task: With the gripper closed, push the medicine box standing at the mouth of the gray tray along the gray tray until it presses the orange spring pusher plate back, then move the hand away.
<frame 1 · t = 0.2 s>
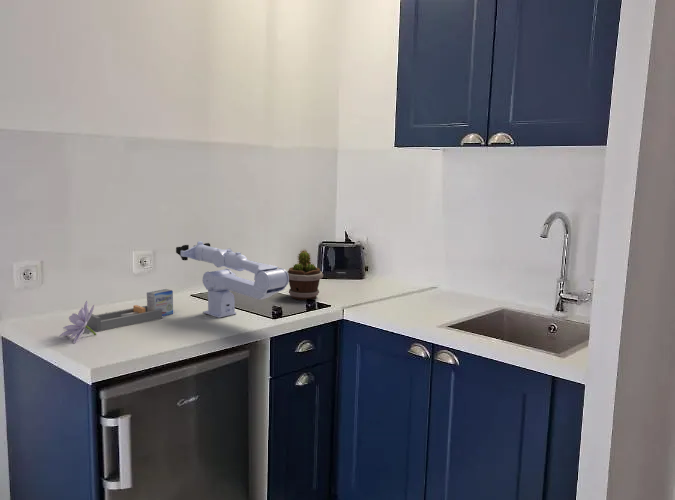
hand: (185, 249, 223), 21 cm above the worktop, tool horizontal, fingers open, 7 cm apart
pusher: (131, 314, 201), point 2 cm above the worktop, slide at 0.0 cm
medicine box: (160, 315, 210), on the worktop
gray tray: (128, 321, 201), on the worktop
flowerpot: (304, 297, 241), on the worktop
water lily: (78, 338, 182), on the worktop
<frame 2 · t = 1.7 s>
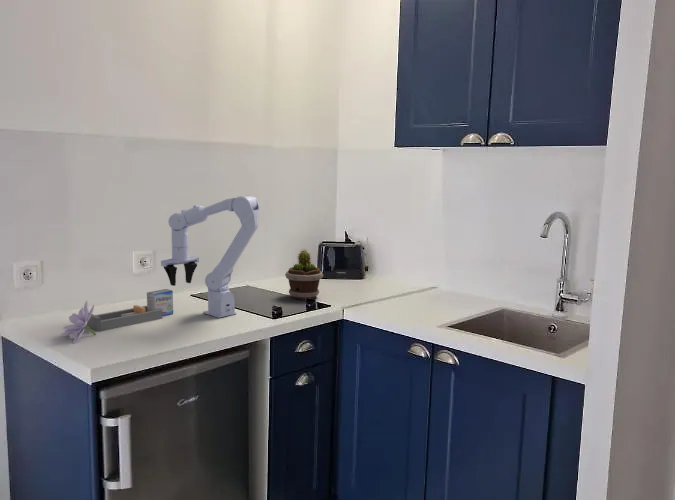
hand: (180, 284, 215), 10 cm above the worktop, tool pointing down, fingers open, 6 cm apart
nothing on the worktop moved.
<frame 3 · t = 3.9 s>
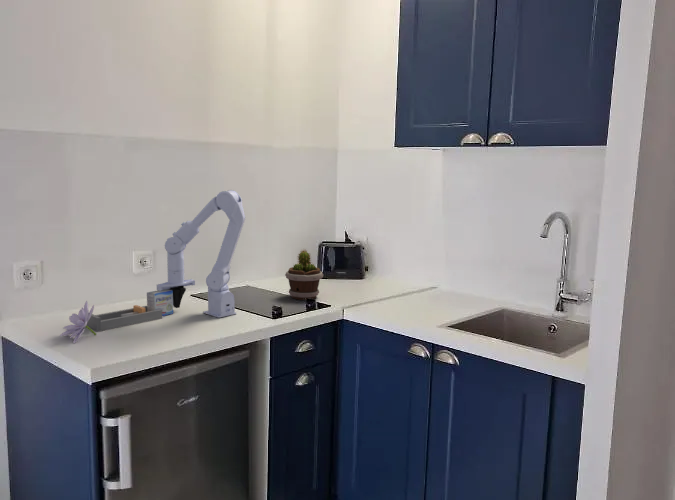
hand: (176, 307, 214), 2 cm above the worktop, tool pointing down, fingers closed
medicine box: (160, 315, 210), on the worktop, touching gripper
everything else where it was.
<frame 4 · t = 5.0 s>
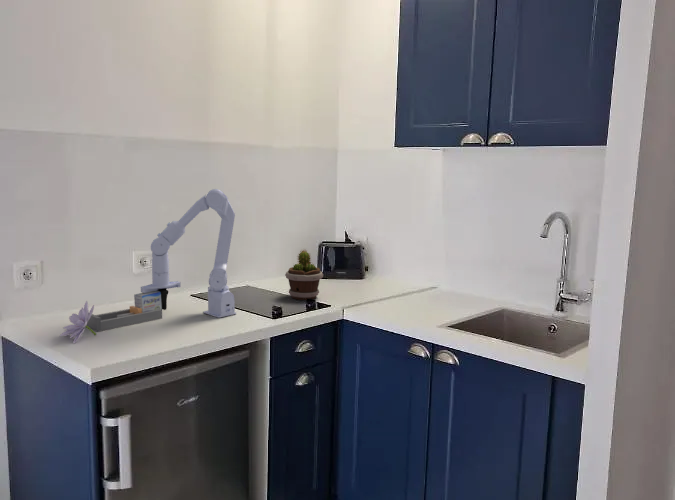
hand: (161, 309, 210), 2 cm above the worktop, tool pointing down, fingers closed, pressing on medicine box
pusher: (127, 314, 200), point 2 cm above the worktop, slide at 1.4 cm
medicine box: (148, 317, 207), on the worktop, touching gripper
everything else where it was.
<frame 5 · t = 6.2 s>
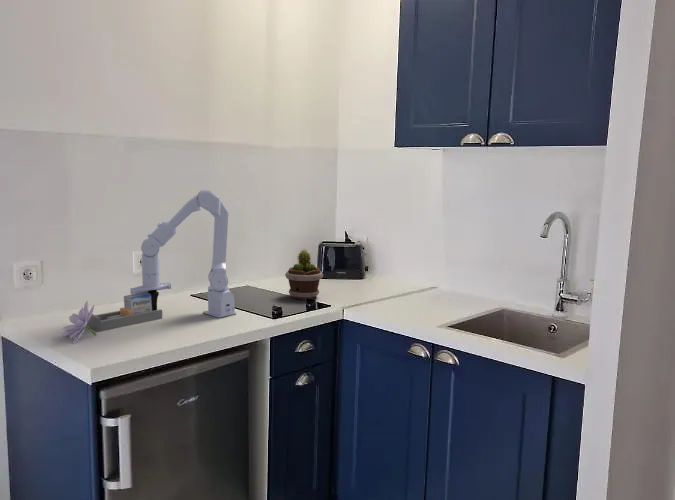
hand: (151, 311, 207), 2 cm above the worktop, tool pointing down, fingers closed, pressing on medicine box
pusher: (117, 316, 198), point 2 cm above the worktop, slide at 4.9 cm
medicine box: (138, 319, 204), on the worktop, touching gripper
everything else where it was.
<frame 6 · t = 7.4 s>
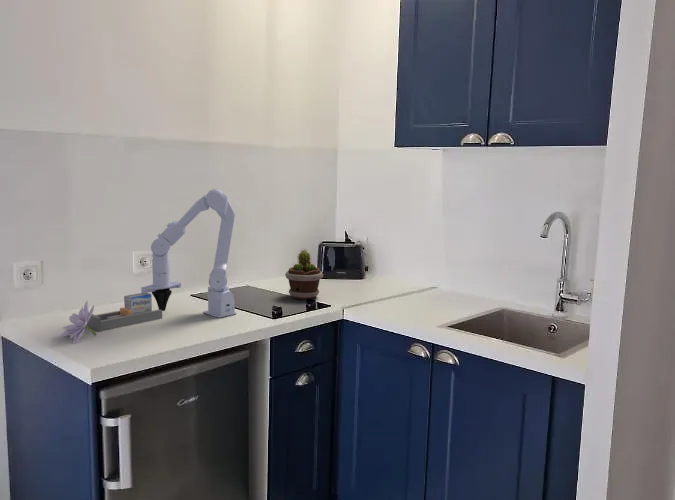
hand: (162, 310, 210), 2 cm above the worktop, tool pointing down, fingers closed
medicine box: (138, 319, 204), on the worktop
everything else where it was.
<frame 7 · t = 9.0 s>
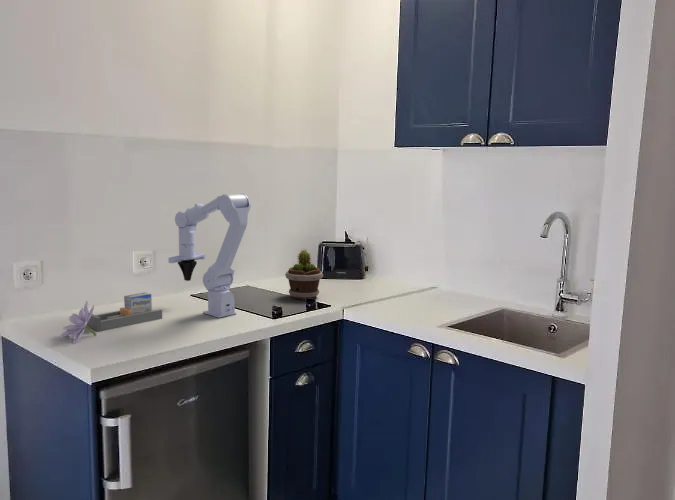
hand: (187, 280, 221), 10 cm above the worktop, tool pointing down, fingers closed
nothing on the worktop moved.
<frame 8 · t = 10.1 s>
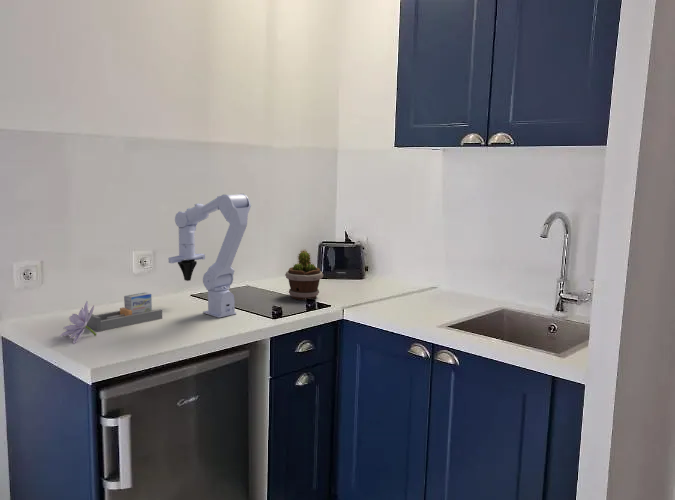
hand: (187, 280, 221), 10 cm above the worktop, tool pointing down, fingers closed
nothing on the worktop moved.
at the end: medicine box inside the target area on the gray tray (0.3 cm from its centre), point 0.0 cm above the gray tray's base; pusher slide at 4.9 cm; medicine box tilted 0° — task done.
